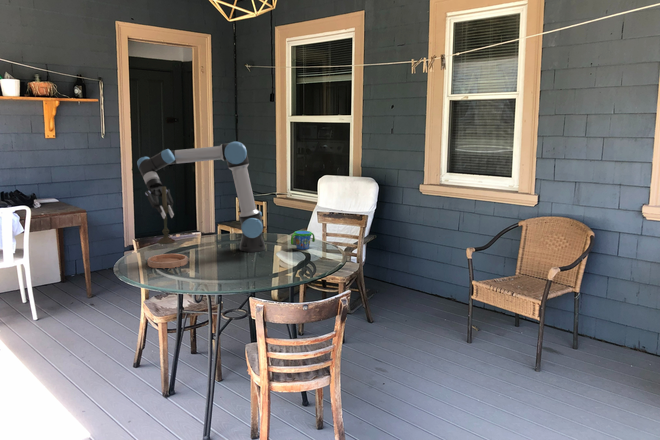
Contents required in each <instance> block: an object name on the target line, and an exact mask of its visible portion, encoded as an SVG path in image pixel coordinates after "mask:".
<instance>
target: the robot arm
mask: <svg viewBox="0 0 660 440" xmlns="http://www.w3.org/2000/svg"><path fill="white" fill-rule="evenodd" d="M217 160H218V161H219V160H222V161H223V162H226V163H227V168H228V169H229V170H231V172H232V177H233V182H234V186H235V190H236V196H237V199H238V204H239V205H238V206H239V209H240V213H239V215H238V216H239V221H240V227H241V232H242V234H241V235H242V236H241V240H240V243H239V251H241V252H245V253H257V252H263V251H265V250H266V244H265V241H264V238H263V230H264V225H263V215H262V214H263V212H262V211H260V210H259V209H257V205H256V202H255V197H254V194H253V193H254V192H253V189H252V183H251V179H250V175H249V170H248V167H249V165H250V161H249V157H248V151H247V147H246V145H245V144H244V143H242V142H241V141H238V140H237V141H236V140H234V141H231V142H228V143H221V144H220V145H216V146H206V147H194V148H186V149H175V150H170V149H169V148H167V149H166V148H165V149H163V150H161V151H160V152H159V153H156V154H155V155H154V156H152V157H149V156H142V157H140V158H139V159H137V162H136V164H137V168H138V171H139V172H140V175H141V176H142V178H143V179H142V180H144V184H145V186H146V188H147V190H146V191H145V192H144V195H145V197H147V199H148V201H149V203H150V206H151V208H153V209H156V211H158V213H159V214H160V215H161V217H162V219H165V217H166V215H167V214H165V212H164V210H163V208H162V207H163V205H160V199H162V187H163V183H162V182H161V179H160V177H159V175H158V173H157V171H159V170H160V169H162V168H165V167H167V166H168V165H174V164H186V163H195V162H196V163H197V162H207V161H217ZM166 197H167V207H169V208H168V214H169V216H170V218H171V219H173V217H175V213H174V208H173V206H174V205H175V202H174V200H173V197H172V194H171V190H170V188H168V189H166ZM159 198H160V199H159Z"/></svg>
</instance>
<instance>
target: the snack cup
mask: <svg viewBox="0 0 660 440" xmlns="http://www.w3.org/2000/svg"><path fill="white" fill-rule="evenodd" d="M311 237H312V239H311ZM294 238H295V245H296V249H297V250H309V248H310V244H311V242H312V243H314V242H315V240H316V238H315V234H314V232H312V231H310V230H296V231H294V232H293V234H292V236H291V238H290V244H291V245H294Z"/></svg>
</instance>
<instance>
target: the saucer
mask: <svg viewBox="0 0 660 440" xmlns="http://www.w3.org/2000/svg"><path fill="white" fill-rule="evenodd" d="M186 265H188V256H187V255H185V254H182V253H181V254H179V253H163V254H157V255H156V254H155V255H152V256H150V257H148V259H147V266H148V267H150V268H151V269H152V268H153V269H157V268H163V269H162V270H166V269H165V268H169V269H176V268H175V267H177V268H180V266H181V267H185V266H186Z"/></svg>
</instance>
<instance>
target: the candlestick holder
mask: <svg viewBox="0 0 660 440" xmlns="http://www.w3.org/2000/svg"><path fill="white" fill-rule="evenodd" d="M166 190H167V186H162V198H161V201H162V202H161V203H162V205H161V206H162V208H163V210H164V212H165V214H166V217H165V219H163V218H162V219H163V226H164V227H163V229H162V231H161V232H162V234H163V237H161V238H160V239H159V240H157V241H156V243H157V244H159V245H169V244H174V243H176V240H175V239H173V238H172V237H170V236H169V234H170V229H169V228H168V214H169V212H168V208H169V207H167V196H166Z"/></svg>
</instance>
